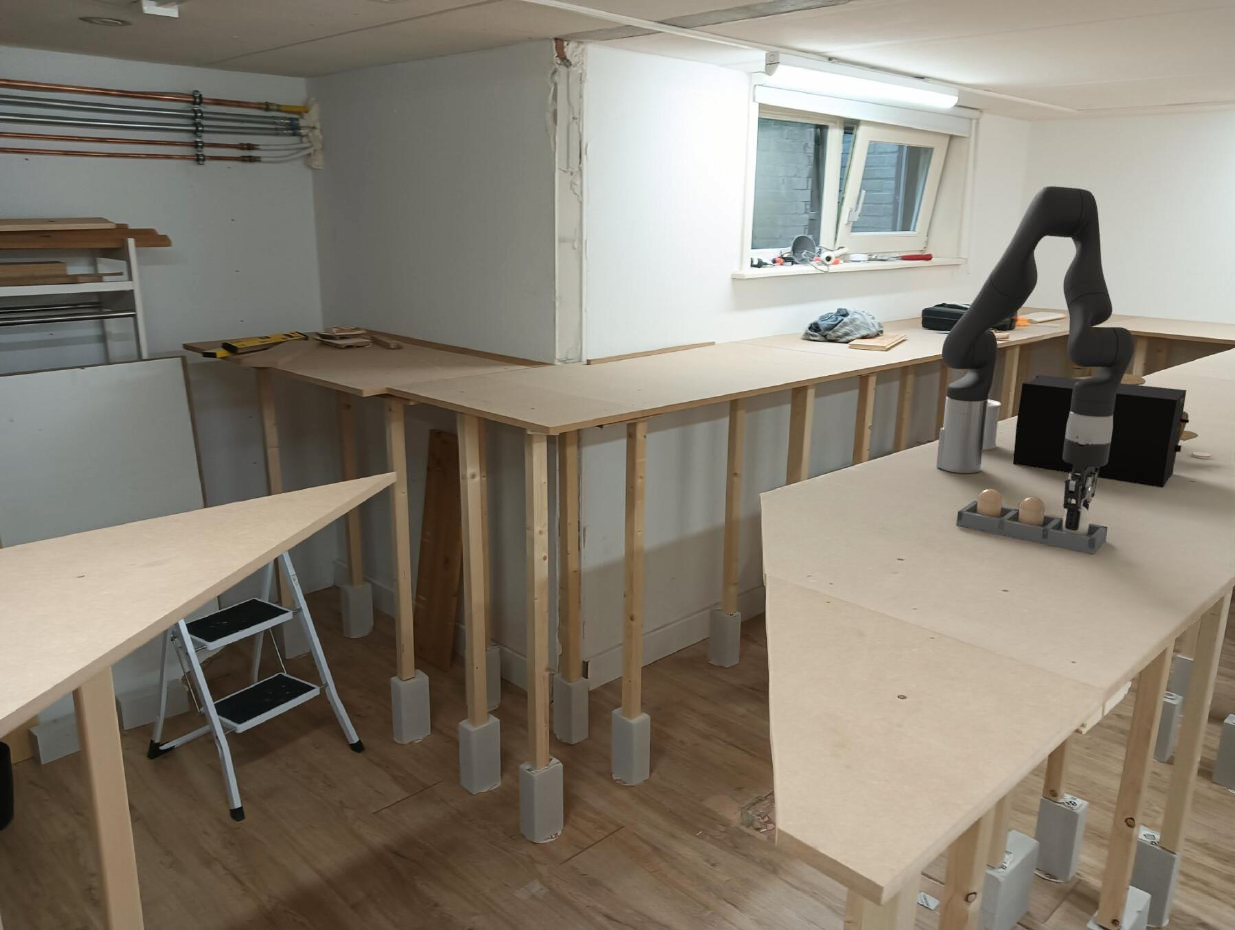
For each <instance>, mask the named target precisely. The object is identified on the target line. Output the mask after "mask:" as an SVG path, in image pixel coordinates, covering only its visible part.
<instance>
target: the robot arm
mask: <svg viewBox="0 0 1235 930" xmlns="http://www.w3.org/2000/svg"><path fill="white" fill-rule="evenodd" d="M1044 237H1056V238H1057V237H1058V238H1071V240H1072V241H1073V244H1074V247H1075V254H1074V256H1073V260H1072V261H1071V263H1070V264H1069V267H1068V269H1066V270H1067V271H1066V273H1065V275H1064V278H1063V283H1062V284H1063V285H1062V287H1063V294H1064V299H1065V302H1066V306H1067V310H1068V315H1069V327H1068V328H1069V330H1068V331H1069V332H1068V340H1067V347H1066V348H1067V351H1066V352H1067V356H1068V358H1069V360H1070V361H1071V362H1072V364H1074V365H1076V366H1078V367H1082V368H1089V367H1093V368H1101V369H1100V370H1099V371H1098V373H1097V374H1096V375H1093V376H1094V377H1091V378H1087V379H1082V380H1079V381H1077V382H1076V383H1075V385H1074V387H1073V393H1072V400H1071V408H1070V414H1069V418H1068V421H1067V426H1066V434H1065V441H1064V449H1063V460H1064V461H1065V462H1067V463H1071V464H1072V465H1073V469H1072V472H1069V473H1068V475H1067V478H1066V479H1065V481H1064V495H1063V504H1062V507H1063V509H1064V510H1066V509H1067V515H1066V522H1065V528H1066V529H1069V530H1074V531H1076V530H1078V528H1079V522H1080V515H1081V510H1082V506H1084V507H1085V508H1086V509H1087V510H1088V511H1089V510H1090V509H1089V508H1090V504H1091V502H1092V501H1093V499H1094V498H1095V495H1096V494H1095V493H1096V487H1097V483H1098V479H1099V478H1098V474H1099V471H1100V469H1099V467H1100V466H1104V465H1106V464H1107V463H1108V457H1109V450H1110V444H1111V437H1112V430H1113V412H1114V405H1115V398H1116V393H1117V390H1118V388H1119V385H1120V383H1121V381H1122V378H1123V376H1124V374H1126V373H1127V372H1126V371H1128V368H1129V365H1130V363H1131V361H1132V358H1133V355H1134V352H1135V346H1136V345H1135V339H1134V336H1133V334H1132V333H1131V330H1129V329H1127V328H1125V327H1123V326H1122V327H1121V326H1099V325H1101V324H1103V323H1106V322H1107V321H1108V320H1109V319H1110V318H1111V316H1112V314H1113V304H1112V300H1111V298H1110V297H1111V296H1110V293H1109V289H1108V286H1107V283H1106V279H1105V276H1104V270H1103V264H1102V262H1103V261H1102V251H1101V249H1102V248H1101V247H1102V245H1101V234H1100V222H1099V210H1098V205H1097V200H1096V198H1095V196H1094V195H1093V193H1092V192H1091V191H1090V190H1087V189H1083V188H1078V187H1077V188H1076V187H1066V186H1056V185H1055V186H1054V185H1051V186H1044V187H1043V188H1041V189H1039V190H1038V192H1036V193H1035V195H1034V196H1033V198H1032V199H1031V201H1030V203H1029V205H1028V207H1027V208H1026V210H1025V213H1024V215H1023V217H1022V218H1021V220H1020V223H1019V225H1018V227H1017V229H1016V230H1015V232H1014V235H1013V237H1012V238H1011V240H1010V242H1009V244H1008V246H1007V248H1005V251H1004V252H1003V253H1002V256H1001V257H1000V258H999V260H998V262H997V263H996V264H995V266H994V268H993V269H992V270H991V272H989V273H990V274H989V275H988V277H987V279H986V280H985V282H984V283H983V284H982V286H981V288H980V290H979V292H978V293H977V294H976V297H975V298H974V300H973V301H972V303H971V304H970V306H969V307H968V308H967V309H966V311H965V312H964V313H963V315H962V316H961V317H960V318H959V320H958V321H957V322H956V323H955V324H954V326H953V327H952V328H951V329H950V331H949V332H948V334H947V335H946V337H945V339H944V342H943V345H942V350H941V358H942V362H943V363H944V364H945V366H946V367H948V368H951V369H954V370H968V372H967V373H966V374H964V376H962V377H961V378H959V379H956V380H955V381H953V382H952V381H951V383H949V384H948V385H947V387H946V388H947V389H946V397H945V404H944V405H945V406H944V407H945V408H944V415H943V416H944V417H943V427H941V428H940V429H939V436H938V437H939V439H938V446H937V457H936V465H935V467H936V468H938V469H941V470H944V471H947V472H951V473H959V474H973V473H979V472H980V471H981V466H982V458H983V451H984V450H983V441H984V432H985V423H986V414H987V404H988V400H989V396H988V395H990V391H991V389H992V385H993V382H994V373H995V368H996V362H997V355H998V341H997V337H996V334H995V333H994V331H993V330H991V329H992V328H993V327H994V326H997V325H998V324H1000V323H1001V322H1003V321H1005V320H1006V319H1009V318H1010V317H1011V316H1013V315H1014V314H1016V313H1017V312H1019V310H1020V309H1021V308H1022V306H1024V304H1025V303H1026V302H1027V301H1028V299H1029V297H1030V296H1031V295H1032V293H1033V292H1034V289H1035V288H1036V286H1037V284H1038V277H1039V276H1038V268H1037V263H1036V259H1035V250H1036V248H1037V246H1038V244H1039V243H1040V241H1041V240H1043V238H1044ZM1092 498H1093V499H1092ZM1072 500H1074V501H1075V503H1074V502H1073V501H1072ZM1072 502H1073V503H1072Z"/></svg>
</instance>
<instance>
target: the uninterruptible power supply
mask: <svg viewBox="0 0 1235 930" xmlns="http://www.w3.org/2000/svg"><path fill="white" fill-rule="evenodd" d="M1073 378H1074V377H1062V376H1052V375H1043V374H1037V375H1036V376H1035V378H1033V379H1031V380H1030V381H1025V382H1024V381H1023V382H1022V385H1021V392H1020V400H1019V405H1018V412H1017V419H1016V424H1015V436H1014V437H1015V438H1014V448H1013V449H1014V451H1013V459H1012V460H1013V461H1012V462H1013V463H1012V464H1013V465H1017V466H1021V467H1022V466H1023V467H1029V468H1034V469H1035V468H1036V469H1041V468H1042V470H1048V471H1053V470H1054V472H1061V473H1066V474H1069V472H1072V469H1073V465H1072V464H1071V463H1067V462H1065V461H1064V460H1063V449H1064V441H1065V434H1066V426H1067V421H1068V418H1069V414H1070V408H1071V400H1072V393H1073V387H1074V385H1075V383H1076V382H1077V381H1079V380H1082V379H1073ZM1186 395H1187V390H1186V389H1179V388H1169V387H1159V386H1151V385H1132V384H1122V383H1120V385H1119V388H1118V390H1117V393H1116V398H1115V405H1114V412H1113V430H1112V437H1111V444H1110V450H1109V457H1108V463H1107V464H1106V465H1104V466H1100V467H1099V469H1100V471H1099V474H1098V479H1106V480H1111V481H1112V480H1113V481H1117V482H1123V481H1124V482H1125V483H1131V484H1135V485H1143V486H1149V487H1157V488H1164V487H1165V485H1166V484H1167V483H1168V481H1169V479H1170V478H1171V477H1172V476H1173V473H1174V470H1175V461H1176V457H1177V453H1181V452H1182V451H1181V450H1182V445H1180V444H1179V443H1178V441H1179V435H1180V429H1181V423H1186V424H1189V423H1190V419H1188V420H1187V419H1182V416H1183V411H1184V408H1185V402H1186ZM1179 442H1180V441H1179Z"/></svg>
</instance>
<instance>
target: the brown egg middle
mask: <svg viewBox="0 0 1235 930" xmlns="http://www.w3.org/2000/svg"><path fill="white" fill-rule="evenodd" d="M1045 510H1046V506H1045V504H1044V501H1043V500H1042V499H1040V498H1039V497H1037V496H1028V497H1026V498H1024V499H1023V500H1022V501H1021V503H1020V505H1019V518H1018V522H1019V523H1024V524H1029V525H1034V526H1039V527H1043V520H1044V515H1045V512H1046V511H1045Z"/></svg>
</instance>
